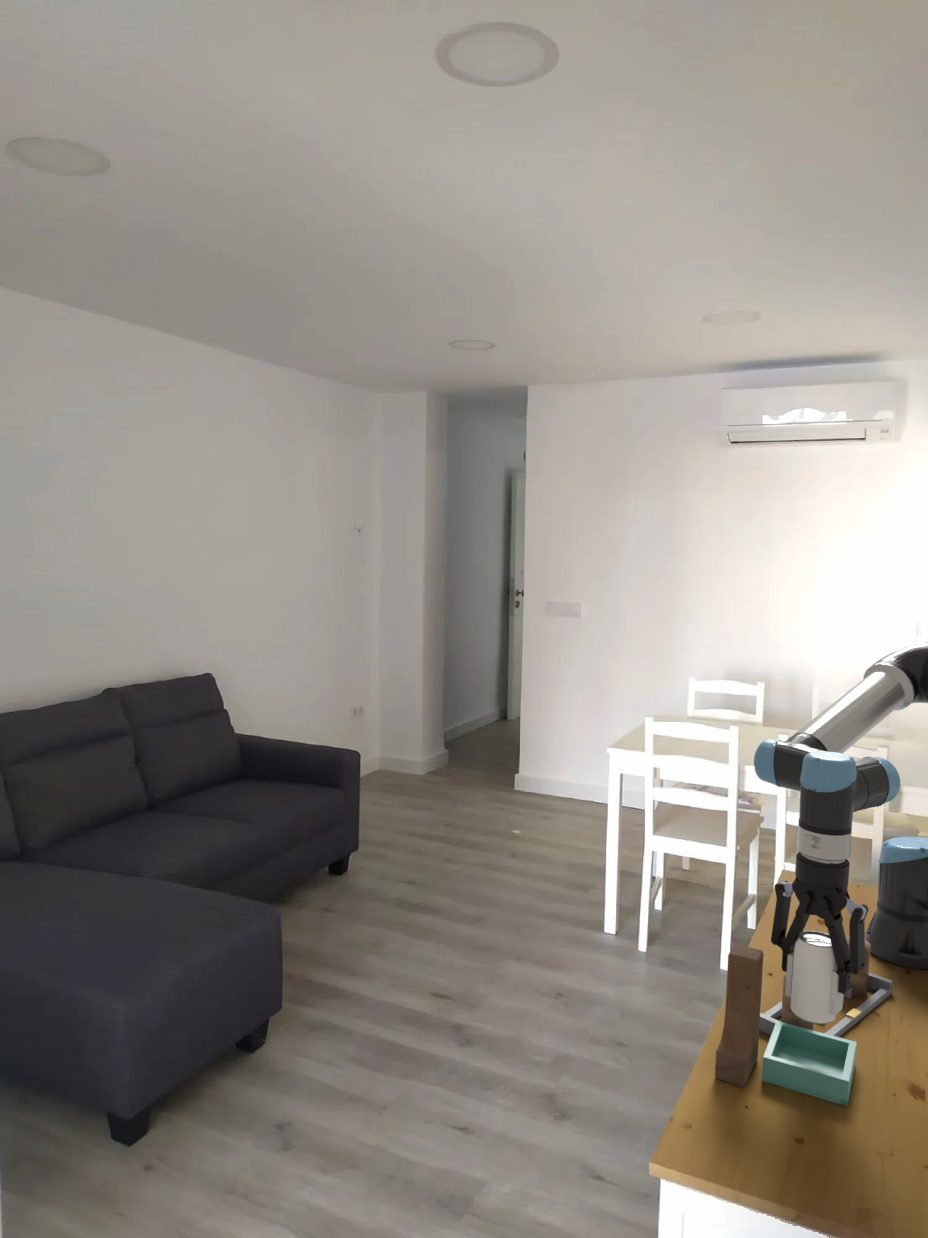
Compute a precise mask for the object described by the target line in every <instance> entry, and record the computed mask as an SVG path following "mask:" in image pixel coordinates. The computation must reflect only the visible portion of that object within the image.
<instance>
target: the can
mask: <svg viewBox="0 0 928 1238" xmlns="http://www.w3.org/2000/svg"><path fill="white" fill-rule="evenodd" d="M798 937H799V938H798V939H797V941H796V943H795V948H794V962H793V976H792V992H791V1010H792V1011H793V1013H794V1014H795V1015H796V1016H797V1017H798V1018H800V1019H802V1020H804V1021H807V1022H810V1023H813V1025H814V1024H815V1025H827V1024H830V1023H832V1022H833V1021H835V1019H836V1015H837V1014H835V1015H833V1014H830V999H831V984H832V971H834V970H837V969H838V968H837V964H836V960H835V956H834V952H833V948H832V944H831V940H830V936H829V933H825V932H821V931H817V930H803V932H800V933H799V934H798Z"/></svg>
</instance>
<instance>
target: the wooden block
mask: <svg viewBox="0 0 928 1238" xmlns="http://www.w3.org/2000/svg"><path fill="white" fill-rule="evenodd" d="M727 955H728V957H727V973H726V989H725V991H726V992H725V1007H724V1008H725V1009H724V1020H723V1021H724V1022H723V1027H722V1033H721V1038H720V1040H719V1041H720V1042H719V1044H718V1046H717V1049H716V1051H715V1063H714V1065H715V1066H714V1078H715V1079H717V1080H719V1081H723V1082H726V1083H729V1084H731V1085H735V1086H738V1087H741V1088H744V1087H745V1086H746V1083H747V1081H748V1079H749V1077H750V1075H751V1072H752V1071H753V1069H754V1067H755V1064H756V1063H757V1060H758V1056H759V1055H758V1053H759V1041H760V1040H759V1039H760V1030H759V1023H760V1013H761V1005H762V1004H761V1003H762V1001H761V1000H762V988H763V987H762V984H763V969H764V965H763V964H764V951H763V950H761V949H759V948H754V947H750V946H747V945H746V946H745V945H742V944H734V945H733V947H732V948H731V950H730V951H729V953H728V954H727Z"/></svg>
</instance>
